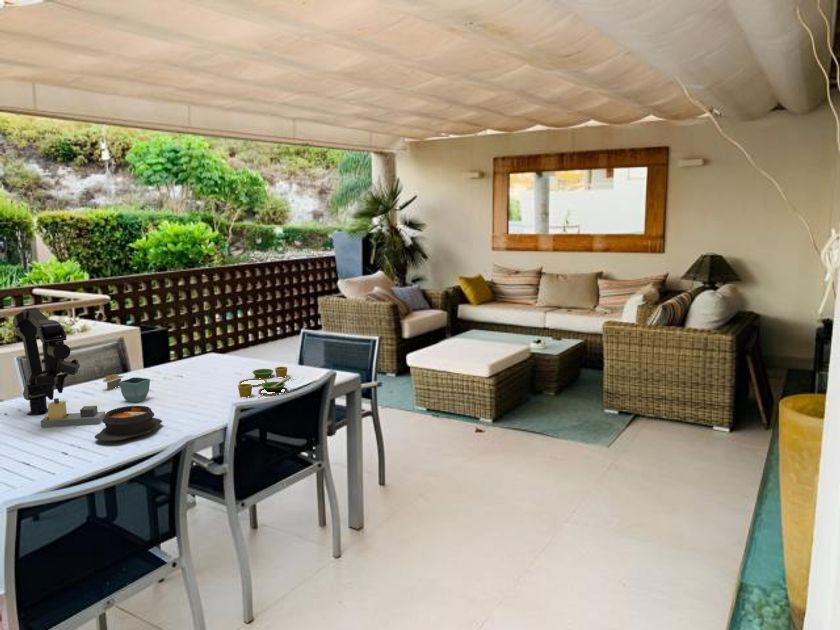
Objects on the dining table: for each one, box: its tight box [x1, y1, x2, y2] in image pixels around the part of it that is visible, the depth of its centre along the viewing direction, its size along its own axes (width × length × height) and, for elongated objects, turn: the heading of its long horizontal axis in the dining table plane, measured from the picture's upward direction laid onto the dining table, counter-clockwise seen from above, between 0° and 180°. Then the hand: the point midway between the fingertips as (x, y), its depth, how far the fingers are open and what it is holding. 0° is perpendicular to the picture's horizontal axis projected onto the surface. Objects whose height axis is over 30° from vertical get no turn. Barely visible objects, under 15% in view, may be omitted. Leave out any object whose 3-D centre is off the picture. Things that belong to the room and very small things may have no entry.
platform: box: [102, 373, 124, 391], centre depth 283 cm, size 12×18×7 cm, turn 162°
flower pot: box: [119, 376, 151, 403], centre depth 263 cm, size 9×9×9 cm
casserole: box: [94, 405, 163, 442], centre depth 223 cm, size 25×19×8 cm
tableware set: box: [237, 366, 292, 398], centre depth 287 cm, size 41×28×6 cm
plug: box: [47, 397, 68, 420], centre depth 234 cm, size 5×5×10 cm
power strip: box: [40, 405, 106, 428], centre depth 235 cm, size 8×20×6 cm, turn 101°
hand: (56, 396), depth 233 cm, fingers open, 9 cm apart
